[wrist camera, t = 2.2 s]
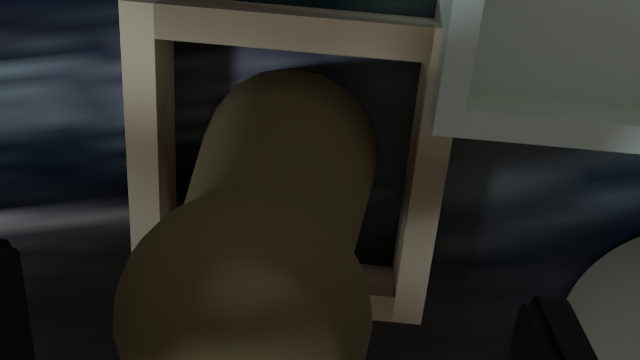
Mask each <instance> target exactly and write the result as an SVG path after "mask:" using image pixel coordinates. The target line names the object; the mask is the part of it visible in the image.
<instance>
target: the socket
mask: <svg viewBox="0 0 640 360" xmlns="http://www.w3.org/2000/svg"><path fill="white" fill-rule="evenodd" d="M118 3H119V22H120V41H121V61H122V80H123V99H124V119H125V138H126V157H127V177H128V196H129V215H130V234H131V253H132V251H133V250H134V248H135V247H136V246H137V244H138V243H139V242H140V240H141V239H142V238H143V237H144V236H145V235H146V234H147V233H148V232H149V231H150V230H151V229H152V228H153V227H154V226H155V225H156V224H157V223H158V222H159V221H160V220H161V219H162V218H163V217H164V216H165V215H166V214H167V213H169V212H171V211H173V210H174V209H176V208H177V200H176V143H175V87H174V41H184V42H195V43H207V44H218V45H230V46H241V47H252V48H264V49H275V50H286V51H298V52H309V53H320V54H332V55H343V56H354V57H366V58H377V59H388V60H400V61H411V62H421V69H420V76H419V83H418V90H417V97H416V104H415V111H414V118H413V125H412V132H411V139H410V146H409V153H408V160H407V167H406V174H405V181H404V188H403V195H402V202H401V209H400V216H399V223H398V230H397V237H396V244H395V251H394V259H393V266H392V267H388V266H378V265H367V264H361V266H362V268H363V270H364V272H365V274H366V276H367V280H368V287H369V294H370V301H371V308H372V320H376V321H386V322H397V323H407V324H417V325H421V321H422V315H423V309H424V303H425V297H426V291H427V286H428V280H429V274H430V268H431V262H432V256H433V251H434V245H435V239H436V233H437V227H438V221H439V216H440V210H441V204H442V198H443V192H444V186H445V181H446V175H447V169H448V163H449V157H450V151H451V145H452V140H453V137H444V136H433V135H432V134H431V131H430V128H429V125H428V120H429V114H430V107H431V101H432V94H433V88H434V81H435V75H436V68H437V62H438V55H439V49H440V42H441V36H442V29H443V28H442V27H441V26H440V25H439V23H438V22H437V21H436V20H435V18H427V17H416V16H404V15H393V14H381V13H370V12H358V11H346V10H335V9H323V8H312V7H300V6H289V5H277V4H266V3H254V2H242V1H231V0H118Z"/></svg>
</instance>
